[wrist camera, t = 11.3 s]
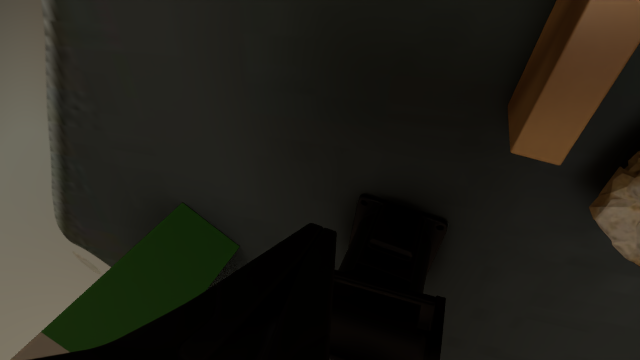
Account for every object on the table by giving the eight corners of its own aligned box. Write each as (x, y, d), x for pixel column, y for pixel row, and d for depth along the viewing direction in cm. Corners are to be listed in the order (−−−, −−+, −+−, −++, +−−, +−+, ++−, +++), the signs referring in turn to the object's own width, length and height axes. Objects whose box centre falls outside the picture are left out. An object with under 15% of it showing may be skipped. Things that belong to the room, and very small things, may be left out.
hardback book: (194, 299, 48) (18, 523, 30) (150, 266, 47) (-56, 476, 30) (239, 246, 36) (-6, 563, 18) (182, 202, 36) (-129, 486, 18)
